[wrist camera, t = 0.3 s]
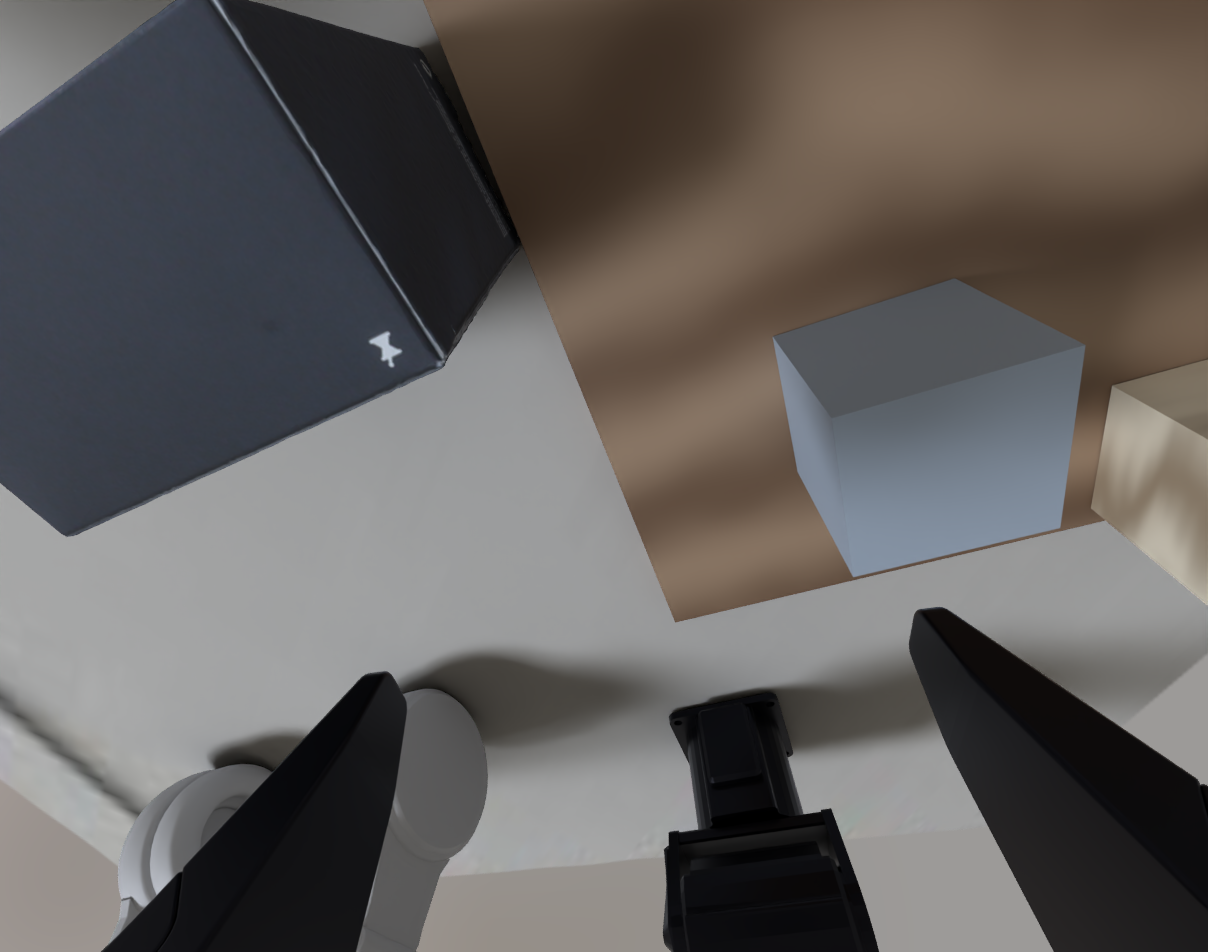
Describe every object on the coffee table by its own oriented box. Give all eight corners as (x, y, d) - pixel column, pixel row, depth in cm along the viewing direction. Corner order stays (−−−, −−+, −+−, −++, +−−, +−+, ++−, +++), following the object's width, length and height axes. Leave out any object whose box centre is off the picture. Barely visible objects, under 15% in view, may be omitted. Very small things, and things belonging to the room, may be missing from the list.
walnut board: (1232, 468, 24) (1259, 483, 23) (672, 604, 29) (675, 622, 28) (1634, -736, 10) (1750, -829, 9) (395, -92, 14) (380, -106, 13)
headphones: (273, 809, 40) (58, 1277, 24) (172, 752, 36) (-166, 1272, 20) (503, 730, 35) (424, 1262, 19) (416, 653, 31) (221, 1251, 15)
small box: (415, 24, 16) (190, -64, 7) (528, 247, 19) (468, 374, 10) (143, 197, 18) (-274, 291, 9) (285, 369, 22) (72, 553, 13)
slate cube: (953, 428, 22) (1060, 528, 17) (797, 471, 23) (853, 577, 18) (953, 277, 19) (1085, 344, 14) (772, 336, 20) (831, 418, 15)
